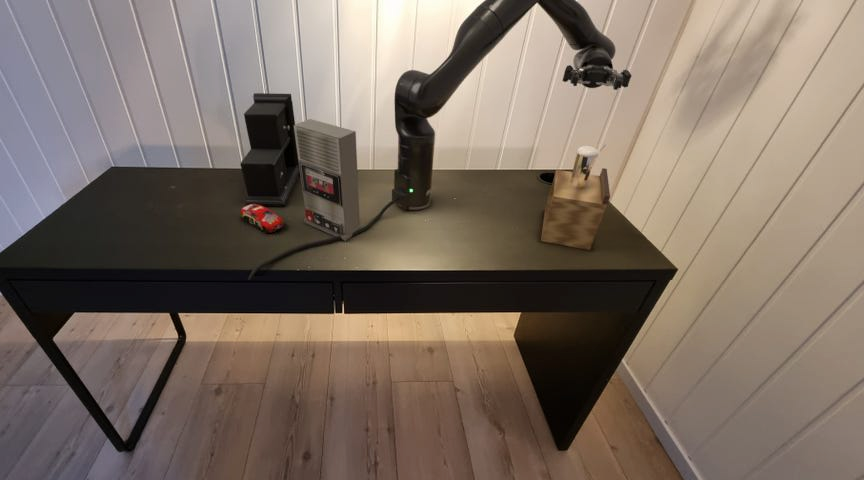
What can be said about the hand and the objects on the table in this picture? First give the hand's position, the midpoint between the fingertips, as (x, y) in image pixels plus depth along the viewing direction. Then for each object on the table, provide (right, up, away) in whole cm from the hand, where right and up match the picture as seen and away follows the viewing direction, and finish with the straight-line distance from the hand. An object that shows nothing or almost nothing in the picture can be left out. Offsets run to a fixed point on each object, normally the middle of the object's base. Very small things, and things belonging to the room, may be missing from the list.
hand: (596, 83), depth 91 cm
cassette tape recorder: (-61, -31, +12) cm, 69 cm away
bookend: (-80, -18, +30) cm, 87 cm away
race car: (-79, -30, +14) cm, 85 cm away
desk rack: (-2, -32, +11) cm, 34 cm away
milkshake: (-2, -22, +4) cm, 23 cm away
